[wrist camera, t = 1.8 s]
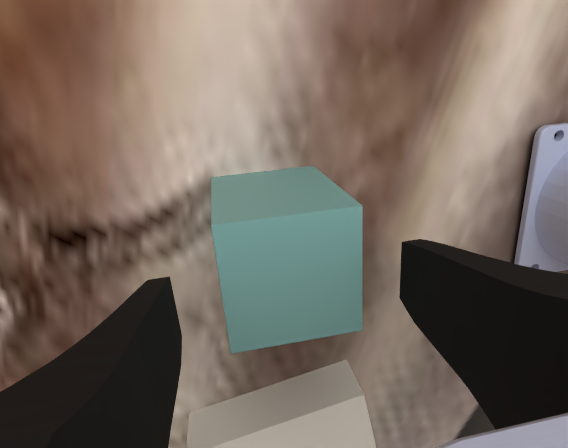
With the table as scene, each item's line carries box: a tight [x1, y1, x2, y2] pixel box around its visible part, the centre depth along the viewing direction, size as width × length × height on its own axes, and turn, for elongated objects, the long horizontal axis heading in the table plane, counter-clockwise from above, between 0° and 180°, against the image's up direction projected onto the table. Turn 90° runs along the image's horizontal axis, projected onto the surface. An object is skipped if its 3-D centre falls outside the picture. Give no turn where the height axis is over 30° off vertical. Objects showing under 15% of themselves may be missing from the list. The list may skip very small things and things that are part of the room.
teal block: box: [211, 166, 362, 354], centre depth 15 cm, size 4×4×6 cm
